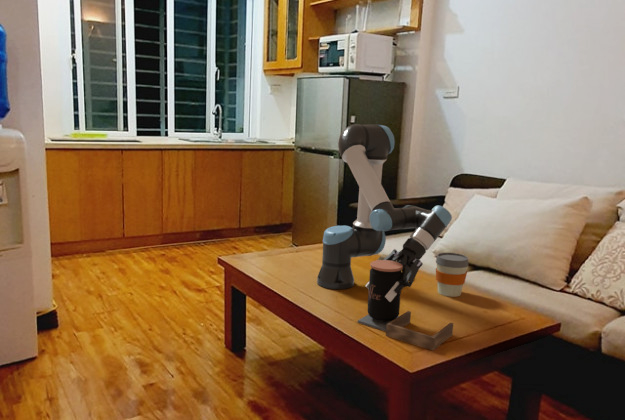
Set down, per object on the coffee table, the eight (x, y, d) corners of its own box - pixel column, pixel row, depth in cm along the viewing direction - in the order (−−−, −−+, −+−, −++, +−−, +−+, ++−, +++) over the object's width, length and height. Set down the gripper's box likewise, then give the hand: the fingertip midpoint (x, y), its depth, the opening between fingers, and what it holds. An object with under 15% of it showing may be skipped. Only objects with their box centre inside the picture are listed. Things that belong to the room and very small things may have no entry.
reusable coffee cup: (464, 300, 204) (467, 262, 202) (431, 295, 209) (434, 258, 206) (466, 290, 216) (470, 254, 213) (435, 285, 220) (438, 250, 217)
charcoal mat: (357, 322, 178) (357, 320, 178) (376, 311, 189) (376, 309, 189) (389, 332, 171) (389, 330, 171) (407, 320, 182) (407, 318, 182)
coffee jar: (364, 309, 185) (367, 259, 181) (394, 309, 185) (398, 260, 182) (370, 321, 174) (373, 269, 171) (402, 321, 175) (406, 269, 172)
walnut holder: (386, 335, 169) (386, 324, 168) (407, 322, 181) (408, 310, 180) (433, 350, 160) (434, 338, 159) (452, 335, 171) (453, 323, 171)
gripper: (446, 259, 173) (404, 312, 169) (402, 243, 193) (364, 289, 189) (435, 245, 170) (392, 298, 165) (391, 230, 190) (352, 277, 185)
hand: (377, 293), depth 177 cm, fingers closed on coffee jar, 10 cm apart
